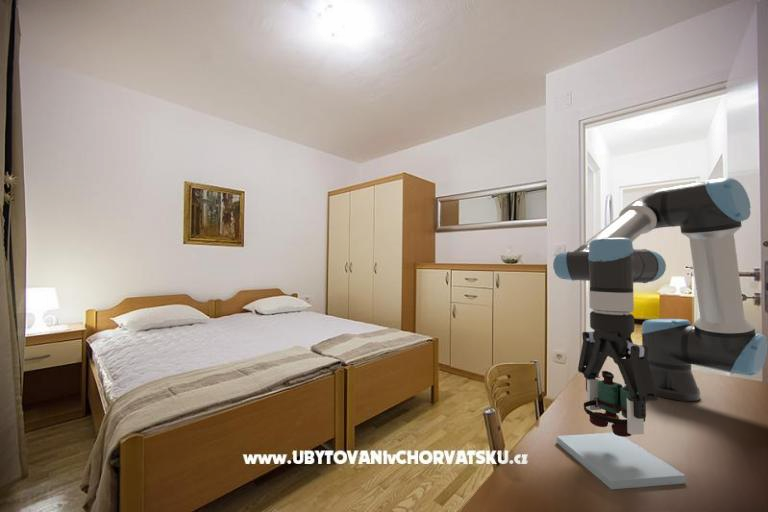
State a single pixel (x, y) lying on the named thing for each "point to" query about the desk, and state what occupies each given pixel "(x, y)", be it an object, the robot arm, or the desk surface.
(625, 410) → the binoculars
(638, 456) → the board
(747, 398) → the desk surface
